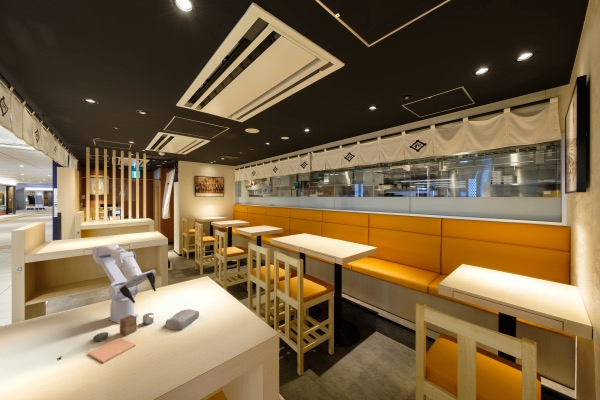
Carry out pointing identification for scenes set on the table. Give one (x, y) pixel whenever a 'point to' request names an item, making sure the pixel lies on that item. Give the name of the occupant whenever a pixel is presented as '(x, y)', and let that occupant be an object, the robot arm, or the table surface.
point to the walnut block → (128, 325)
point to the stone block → (182, 319)
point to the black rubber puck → (100, 337)
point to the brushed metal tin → (148, 319)
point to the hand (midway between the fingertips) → (144, 295)
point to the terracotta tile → (111, 350)
